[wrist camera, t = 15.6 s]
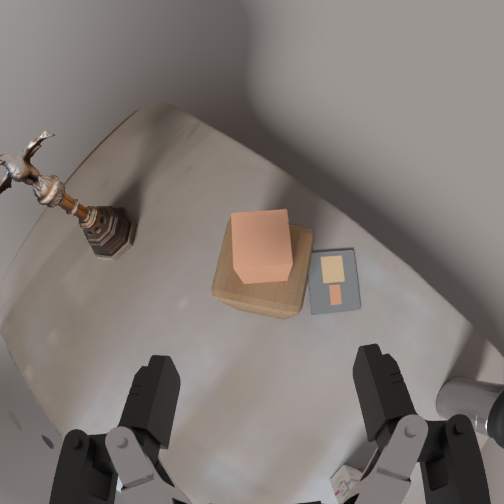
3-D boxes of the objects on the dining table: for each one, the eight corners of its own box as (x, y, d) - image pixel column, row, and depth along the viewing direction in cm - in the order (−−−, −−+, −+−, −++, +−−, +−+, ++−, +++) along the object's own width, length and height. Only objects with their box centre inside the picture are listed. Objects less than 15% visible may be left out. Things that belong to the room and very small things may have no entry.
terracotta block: (283, 239, 29) (286, 208, 22) (287, 280, 28) (292, 263, 21) (241, 242, 30) (230, 213, 22) (243, 284, 28) (233, 268, 21)
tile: (352, 250, 49) (353, 249, 48) (359, 309, 46) (360, 309, 45) (306, 254, 49) (306, 253, 49) (311, 314, 46) (312, 314, 46)
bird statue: (74, 224, 55) (-32, 153, 21) (112, 187, 57) (18, 91, 23) (102, 276, 51) (-35, 218, 17) (145, 235, 52) (25, 134, 19)
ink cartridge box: (374, 474, 36) (400, 508, 22) (359, 490, 35) (380, 527, 21) (343, 463, 38) (364, 501, 24) (328, 480, 37) (343, 520, 23)
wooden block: (299, 265, 49) (316, 225, 30) (289, 320, 46) (301, 316, 27) (245, 254, 50) (228, 210, 31) (233, 308, 48) (207, 297, 28)
